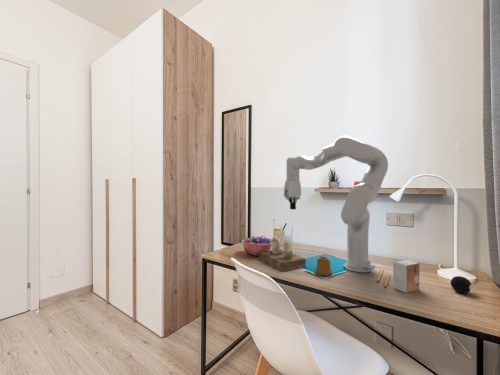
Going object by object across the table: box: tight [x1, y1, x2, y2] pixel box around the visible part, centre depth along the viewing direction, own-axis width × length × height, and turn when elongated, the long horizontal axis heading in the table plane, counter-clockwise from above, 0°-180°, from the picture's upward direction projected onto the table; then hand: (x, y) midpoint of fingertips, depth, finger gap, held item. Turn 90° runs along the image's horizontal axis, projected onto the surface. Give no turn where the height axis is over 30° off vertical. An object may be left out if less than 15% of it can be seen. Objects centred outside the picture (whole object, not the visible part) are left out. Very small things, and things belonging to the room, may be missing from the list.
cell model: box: [241, 235, 272, 257], centre depth 144 cm, size 17×20×11 cm
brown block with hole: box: [258, 241, 307, 272], centre depth 128 cm, size 22×14×12 cm, turn 29°
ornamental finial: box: [314, 255, 333, 277], centre depth 112 cm, size 8×8×8 cm
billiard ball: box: [450, 275, 473, 294], centre depth 92 cm, size 6×6×6 cm
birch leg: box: [271, 237, 281, 255], centre depth 132 cm, size 4×4×12 cm
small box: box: [392, 259, 420, 293], centre depth 96 cm, size 8×6×10 cm
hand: (292, 209), depth 144 cm, fingers closed
